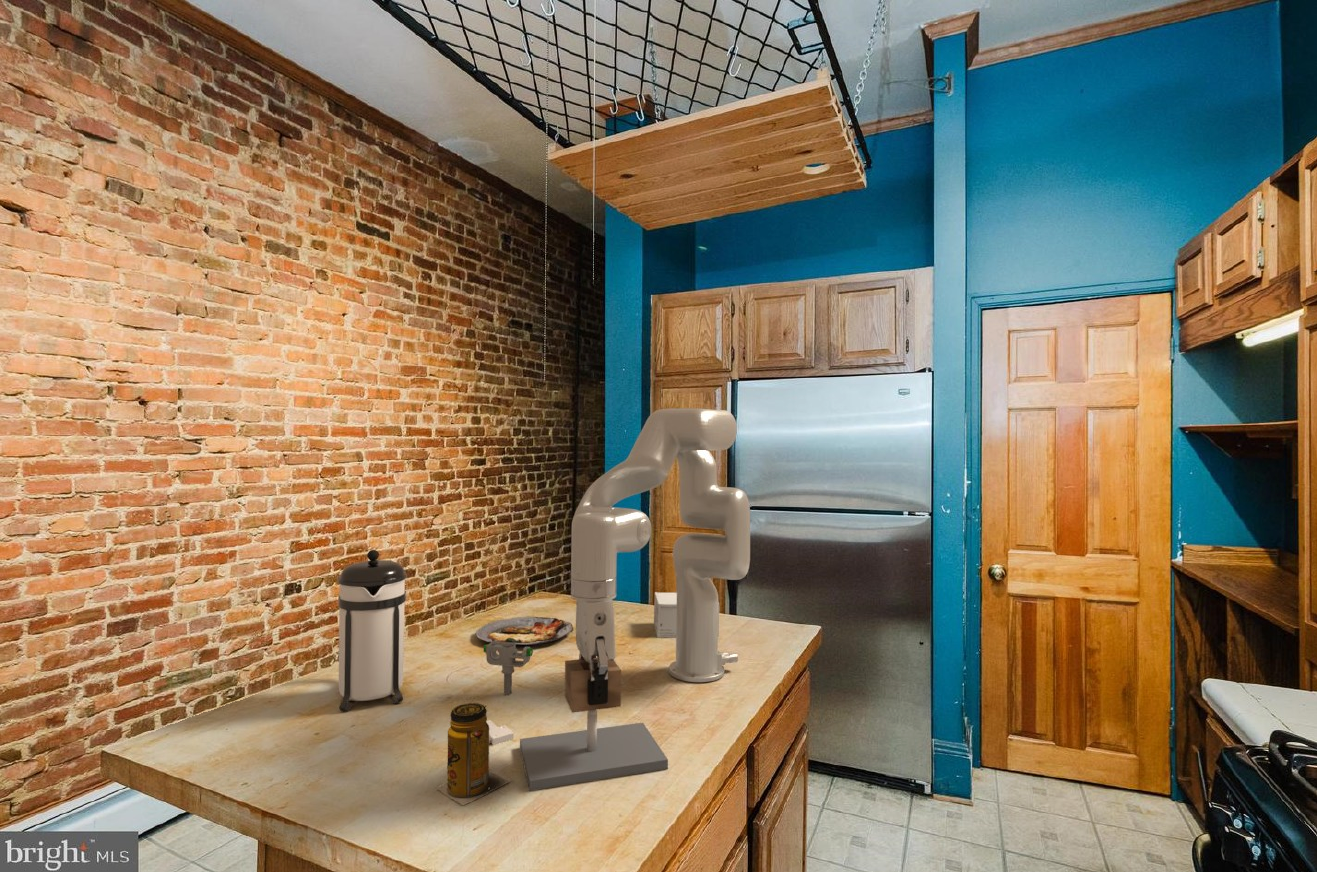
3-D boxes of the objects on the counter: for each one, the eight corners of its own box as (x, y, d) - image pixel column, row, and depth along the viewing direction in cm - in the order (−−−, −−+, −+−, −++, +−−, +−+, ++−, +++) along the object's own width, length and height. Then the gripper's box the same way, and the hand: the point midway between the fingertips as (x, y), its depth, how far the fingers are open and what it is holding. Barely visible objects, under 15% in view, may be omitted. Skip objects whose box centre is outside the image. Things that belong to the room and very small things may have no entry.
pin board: (642, 730, 117) (643, 685, 117) (667, 768, 103) (668, 717, 103) (519, 747, 110) (520, 699, 110) (529, 790, 97) (530, 735, 97)
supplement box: (657, 638, 171) (657, 603, 171) (653, 624, 184) (653, 591, 184) (719, 637, 172) (720, 602, 172) (711, 623, 185) (712, 591, 185)
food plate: (585, 626, 180) (584, 614, 180) (552, 654, 157) (552, 640, 157) (503, 622, 185) (502, 610, 185) (460, 648, 163) (460, 634, 163)
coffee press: (430, 689, 134) (432, 546, 134) (367, 719, 120) (369, 559, 120) (371, 675, 142) (372, 540, 142) (304, 702, 127) (306, 551, 127)
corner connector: (452, 736, 114) (453, 727, 114) (495, 725, 119) (495, 716, 119) (469, 755, 108) (469, 745, 108) (513, 742, 113) (513, 732, 113)
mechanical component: (527, 698, 130) (528, 649, 130) (481, 694, 132) (482, 645, 132) (533, 693, 133) (534, 645, 133) (488, 688, 135) (488, 641, 135)
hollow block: (610, 690, 111) (611, 656, 111) (620, 706, 105) (621, 669, 105) (564, 695, 109) (565, 660, 109) (572, 712, 102) (572, 675, 102)
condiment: (435, 788, 97) (436, 709, 97) (483, 766, 103) (484, 692, 103) (462, 807, 92) (463, 723, 92) (511, 783, 99) (511, 705, 99)
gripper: (629, 598, 100) (628, 713, 100) (603, 575, 116) (602, 673, 116) (581, 602, 97) (580, 719, 97) (562, 577, 114) (561, 678, 114)
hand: (592, 693), depth 107 cm, fingers closed on hollow block, 6 cm apart
